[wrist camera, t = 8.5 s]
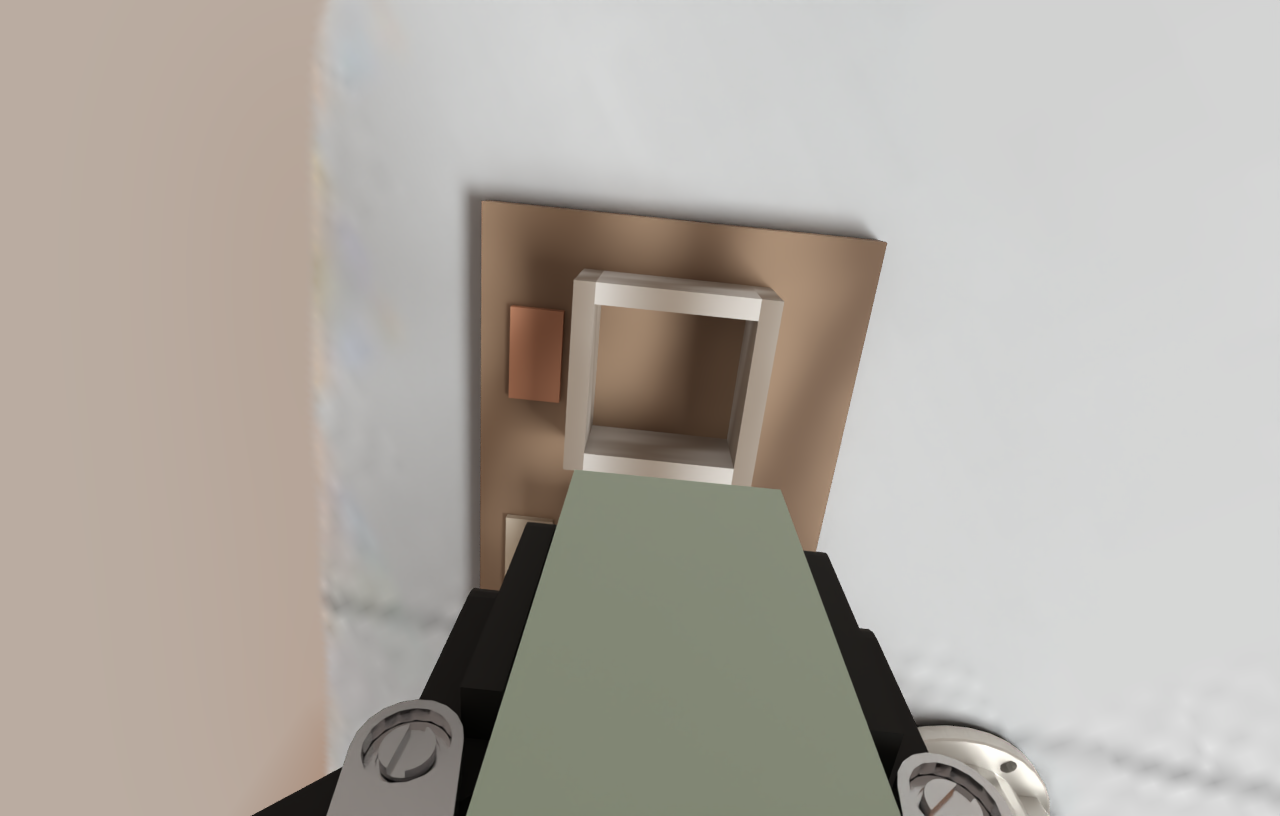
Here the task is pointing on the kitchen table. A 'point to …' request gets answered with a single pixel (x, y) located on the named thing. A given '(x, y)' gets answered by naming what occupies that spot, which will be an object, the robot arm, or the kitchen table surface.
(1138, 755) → the kitchen table surface
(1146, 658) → the kitchen table surface
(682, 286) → the socket board
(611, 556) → the plug
